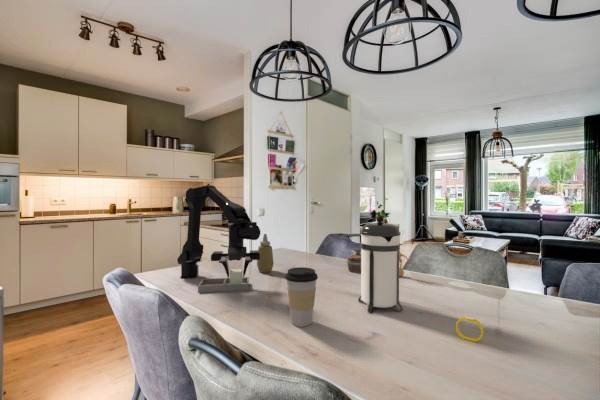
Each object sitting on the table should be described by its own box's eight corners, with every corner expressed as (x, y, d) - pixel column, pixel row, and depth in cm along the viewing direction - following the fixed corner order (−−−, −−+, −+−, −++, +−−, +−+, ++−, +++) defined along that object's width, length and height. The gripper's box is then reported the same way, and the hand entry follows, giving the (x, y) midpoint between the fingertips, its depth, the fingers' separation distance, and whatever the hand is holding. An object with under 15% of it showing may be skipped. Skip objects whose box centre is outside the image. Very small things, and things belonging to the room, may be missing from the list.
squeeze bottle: (272, 273, 140) (272, 235, 140) (255, 273, 140) (255, 235, 140) (274, 269, 148) (274, 232, 148) (258, 269, 148) (258, 232, 148)
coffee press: (412, 305, 101) (413, 215, 100) (390, 319, 89) (390, 218, 88) (366, 293, 112) (367, 213, 112) (341, 304, 101) (342, 215, 100)
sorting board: (198, 292, 113) (198, 285, 113) (202, 285, 123) (202, 278, 122) (247, 290, 116) (247, 283, 116) (248, 283, 125) (248, 277, 125)
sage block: (229, 287, 117) (229, 272, 117) (231, 284, 122) (230, 269, 122) (241, 287, 118) (241, 271, 118) (242, 283, 122) (242, 269, 122)
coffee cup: (307, 332, 80) (307, 276, 80) (278, 324, 85) (278, 271, 85) (323, 320, 88) (323, 269, 88) (296, 313, 93) (296, 265, 93)
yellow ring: (482, 341, 76) (484, 318, 76) (481, 346, 74) (483, 322, 74) (456, 333, 80) (458, 311, 79) (454, 337, 78) (456, 315, 77)
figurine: (409, 276, 136) (409, 249, 135) (408, 279, 130) (408, 252, 130) (389, 274, 139) (390, 248, 139) (388, 277, 133) (388, 250, 133)
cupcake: (344, 268, 150) (344, 248, 149) (363, 268, 151) (363, 248, 150) (350, 273, 140) (350, 252, 140) (370, 273, 141) (370, 252, 141)
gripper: (208, 241, 110) (208, 284, 110) (259, 240, 113) (259, 282, 113) (213, 237, 121) (213, 275, 121) (259, 236, 124) (259, 274, 124)
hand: (236, 277), depth 120 cm, fingers open, 6 cm apart
